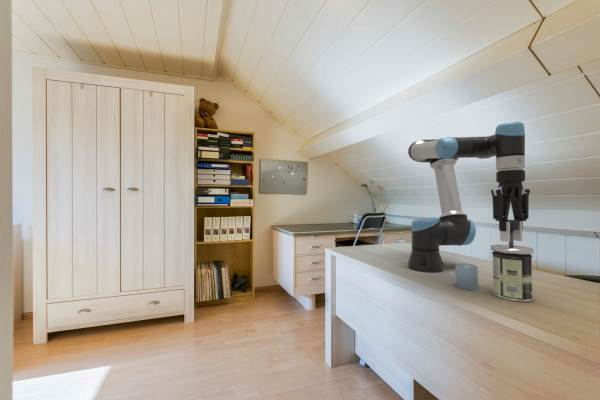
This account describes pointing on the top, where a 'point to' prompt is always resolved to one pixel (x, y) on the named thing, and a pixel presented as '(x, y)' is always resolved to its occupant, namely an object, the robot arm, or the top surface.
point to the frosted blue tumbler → (466, 276)
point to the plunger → (512, 242)
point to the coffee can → (512, 276)
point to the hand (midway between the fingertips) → (511, 240)
